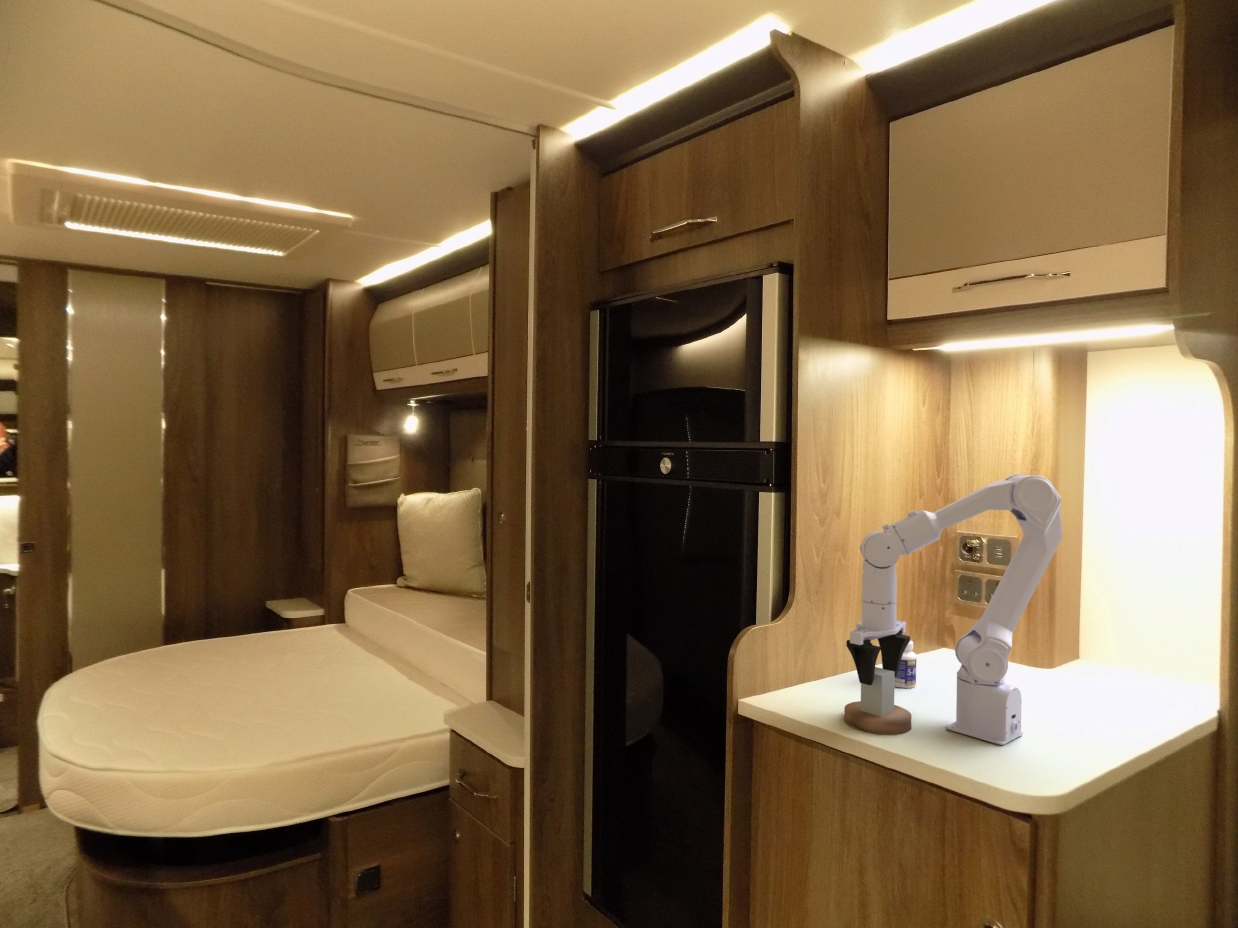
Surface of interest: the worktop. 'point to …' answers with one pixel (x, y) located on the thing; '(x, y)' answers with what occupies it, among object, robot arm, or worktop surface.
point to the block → (879, 693)
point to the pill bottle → (907, 669)
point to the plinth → (877, 720)
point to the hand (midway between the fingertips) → (878, 679)
